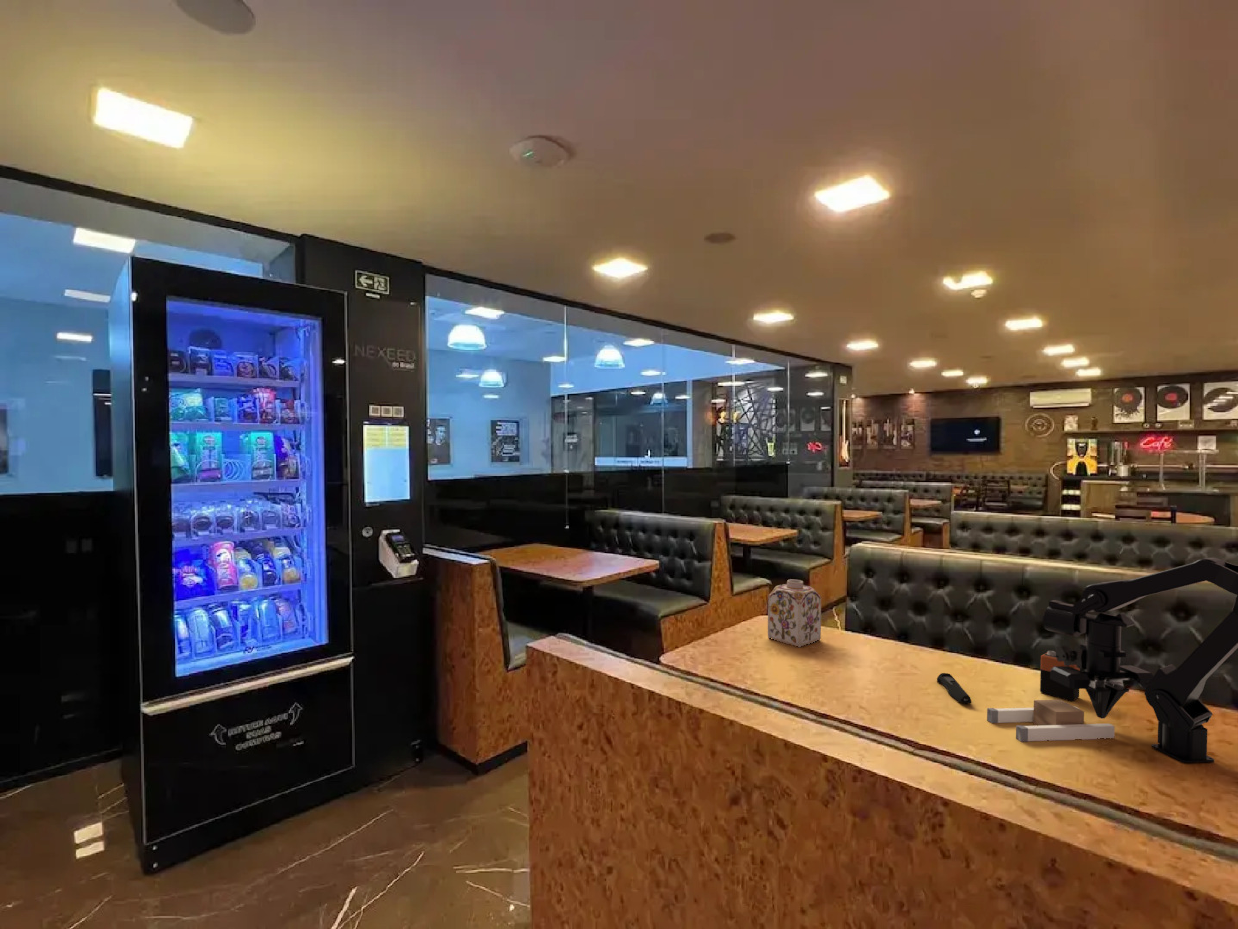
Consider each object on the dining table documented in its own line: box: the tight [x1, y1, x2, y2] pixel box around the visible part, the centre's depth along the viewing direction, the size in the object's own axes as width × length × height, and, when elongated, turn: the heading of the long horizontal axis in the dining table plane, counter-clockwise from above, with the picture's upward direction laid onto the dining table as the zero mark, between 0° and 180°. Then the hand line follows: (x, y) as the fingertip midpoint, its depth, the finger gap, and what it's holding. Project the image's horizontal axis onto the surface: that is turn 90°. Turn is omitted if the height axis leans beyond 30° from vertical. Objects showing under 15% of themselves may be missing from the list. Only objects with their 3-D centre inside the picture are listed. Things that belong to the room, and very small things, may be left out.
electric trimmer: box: [936, 672, 972, 704], centre depth 146 cm, size 4×16×3 cm, turn 169°
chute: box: [986, 705, 1115, 743], centre depth 127 cm, size 10×20×3 cm, turn 95°
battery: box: [1039, 650, 1081, 702], centre depth 146 cm, size 4×7×10 cm, turn 37°
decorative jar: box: [767, 578, 822, 648], centre depth 187 cm, size 12×12×18 cm
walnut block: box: [1032, 699, 1085, 726], centre depth 127 cm, size 6×6×5 cm
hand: (1100, 717), depth 128 cm, fingers closed
